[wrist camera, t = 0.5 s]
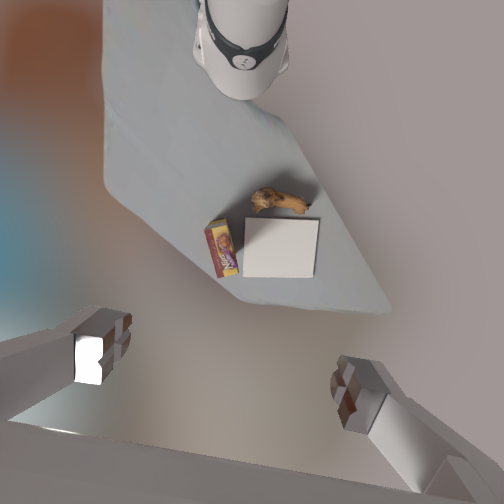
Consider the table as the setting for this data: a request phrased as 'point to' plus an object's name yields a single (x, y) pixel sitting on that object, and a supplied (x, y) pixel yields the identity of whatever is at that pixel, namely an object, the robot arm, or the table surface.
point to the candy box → (221, 248)
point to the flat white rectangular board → (279, 247)
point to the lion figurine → (277, 201)
